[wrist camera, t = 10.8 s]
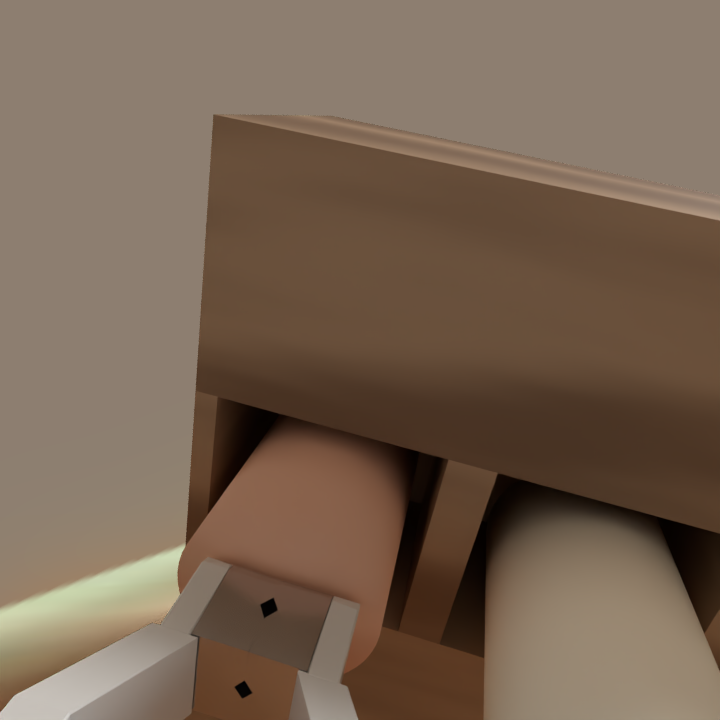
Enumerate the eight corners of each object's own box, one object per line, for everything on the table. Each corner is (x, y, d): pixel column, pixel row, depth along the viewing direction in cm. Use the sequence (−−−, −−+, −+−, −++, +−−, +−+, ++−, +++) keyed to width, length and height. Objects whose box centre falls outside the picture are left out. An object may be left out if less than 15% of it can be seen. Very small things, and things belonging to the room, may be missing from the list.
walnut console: (759, 999, 16) (1451, 374, 8) (170, 785, 18) (213, 114, 10) (677, 726, 23) (989, 250, 15) (261, 596, 25) (331, 116, 17)
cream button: (700, 916, 9) (830, 768, 7) (454, 829, 10) (525, 672, 8) (623, 619, 15) (688, 494, 13) (468, 573, 15) (512, 448, 13)
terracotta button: (360, 705, 11) (402, 553, 10) (173, 643, 12) (182, 488, 10) (403, 515, 17) (434, 396, 15) (274, 478, 17) (290, 359, 16)
